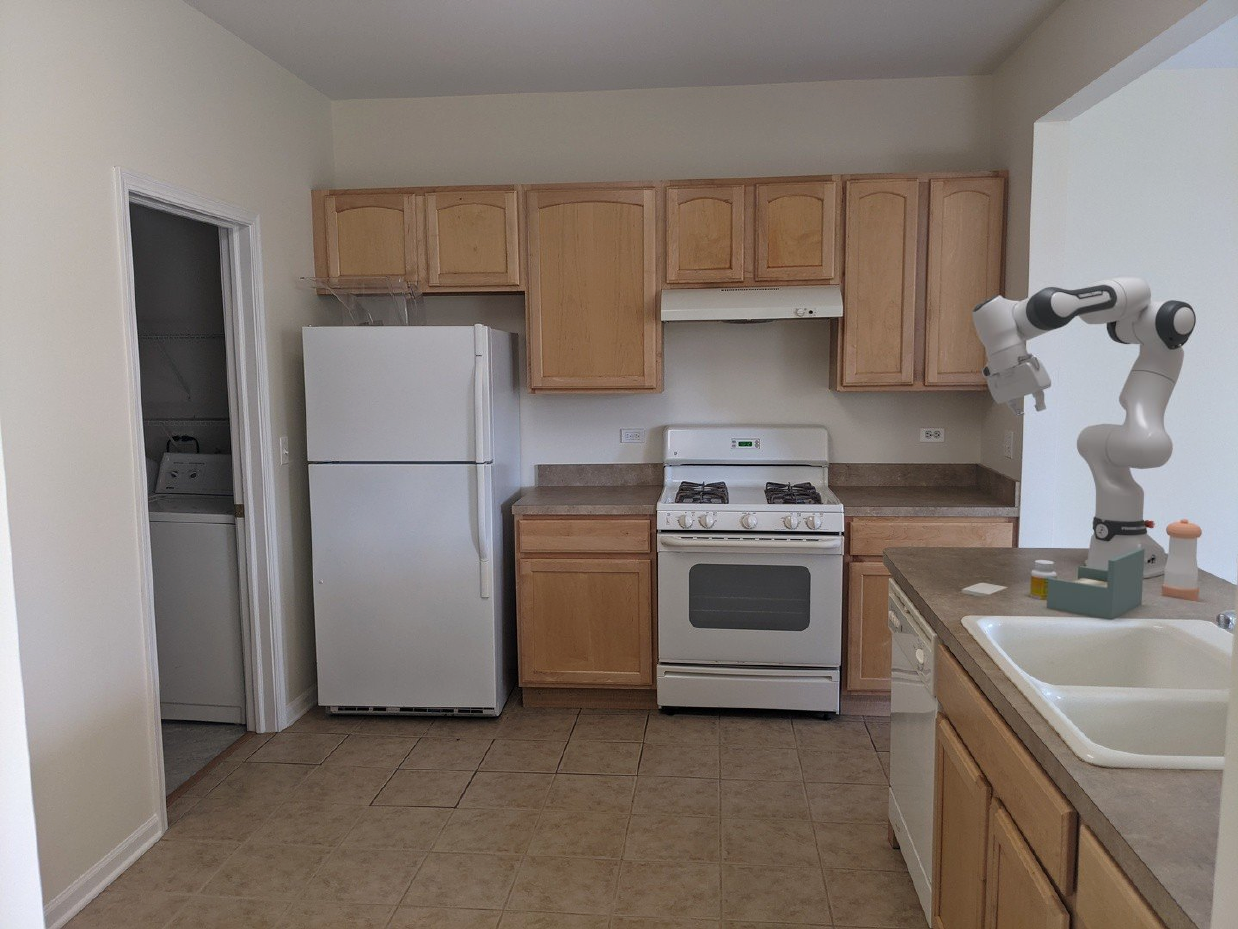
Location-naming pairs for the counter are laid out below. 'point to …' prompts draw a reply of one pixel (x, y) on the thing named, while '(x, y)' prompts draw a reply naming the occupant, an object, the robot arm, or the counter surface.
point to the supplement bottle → (1041, 578)
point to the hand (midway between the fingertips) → (1030, 413)
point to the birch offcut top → (1091, 582)
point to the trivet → (982, 589)
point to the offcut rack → (1101, 588)
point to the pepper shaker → (1182, 561)
